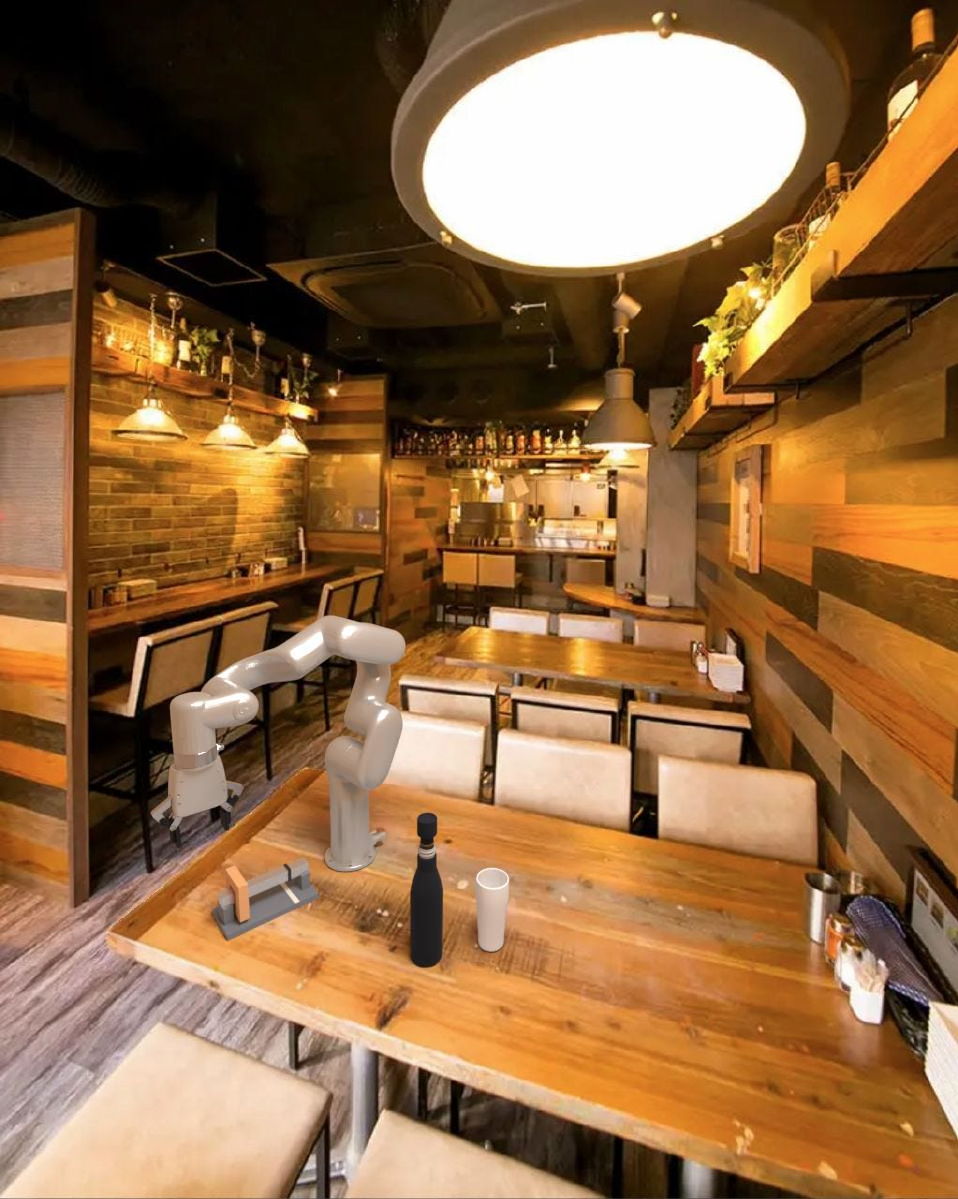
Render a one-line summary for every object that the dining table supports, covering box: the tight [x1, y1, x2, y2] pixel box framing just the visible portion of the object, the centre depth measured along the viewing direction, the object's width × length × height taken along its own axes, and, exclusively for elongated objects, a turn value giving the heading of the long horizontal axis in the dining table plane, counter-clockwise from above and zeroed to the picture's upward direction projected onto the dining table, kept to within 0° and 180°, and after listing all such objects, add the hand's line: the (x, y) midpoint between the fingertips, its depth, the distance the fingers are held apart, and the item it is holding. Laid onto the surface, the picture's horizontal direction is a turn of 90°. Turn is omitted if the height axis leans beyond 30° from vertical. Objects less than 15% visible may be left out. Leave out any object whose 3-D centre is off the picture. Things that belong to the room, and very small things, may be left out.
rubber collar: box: [224, 865, 250, 923], centre depth 123 cm, size 2×8×8 cm, turn 41°
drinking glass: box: [475, 867, 510, 953], centre depth 117 cm, size 7×7×15 cm
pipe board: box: [211, 871, 320, 941], centre depth 127 cm, size 20×10×5 cm, turn 131°
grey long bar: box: [217, 856, 310, 909], centre depth 127 cm, size 19×3×3 cm, turn 131°
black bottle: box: [409, 812, 444, 969], centre depth 112 cm, size 6×6×30 cm
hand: (201, 835), depth 116 cm, fingers open, 8 cm apart
